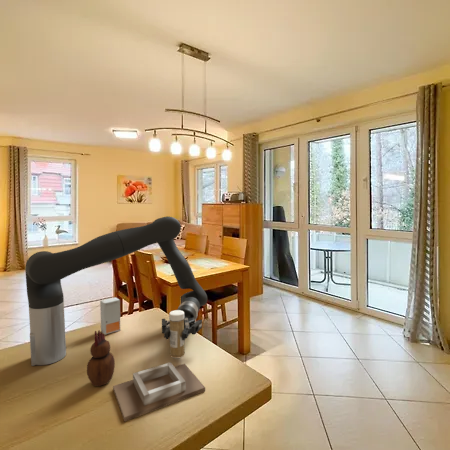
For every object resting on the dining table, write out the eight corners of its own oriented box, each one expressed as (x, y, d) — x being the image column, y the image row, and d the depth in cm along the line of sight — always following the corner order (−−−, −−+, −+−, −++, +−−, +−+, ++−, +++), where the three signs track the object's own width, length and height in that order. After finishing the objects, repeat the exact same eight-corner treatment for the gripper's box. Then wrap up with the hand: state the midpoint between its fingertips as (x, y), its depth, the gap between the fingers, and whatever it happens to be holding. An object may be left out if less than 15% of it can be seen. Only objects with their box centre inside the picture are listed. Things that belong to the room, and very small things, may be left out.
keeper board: (124, 421, 65) (124, 406, 64) (113, 389, 76) (112, 376, 75) (205, 391, 75) (204, 377, 75) (184, 366, 86) (184, 355, 86)
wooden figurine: (97, 392, 74) (94, 335, 73) (83, 385, 78) (81, 330, 76) (119, 379, 80) (117, 325, 79) (106, 372, 83) (104, 321, 82)
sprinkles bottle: (187, 355, 89) (186, 313, 88) (173, 360, 87) (172, 316, 86) (180, 349, 93) (180, 308, 92) (167, 353, 91) (166, 311, 90)
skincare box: (104, 335, 107) (103, 303, 106) (100, 331, 110) (99, 300, 109) (121, 330, 111) (120, 299, 110) (116, 326, 114) (115, 296, 113)
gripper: (166, 303, 104) (151, 323, 87) (206, 304, 103) (198, 325, 86) (166, 324, 104) (151, 348, 87) (206, 325, 104) (198, 349, 86)
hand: (175, 336), depth 87 cm, fingers closed on sprinkles bottle, 4 cm apart
